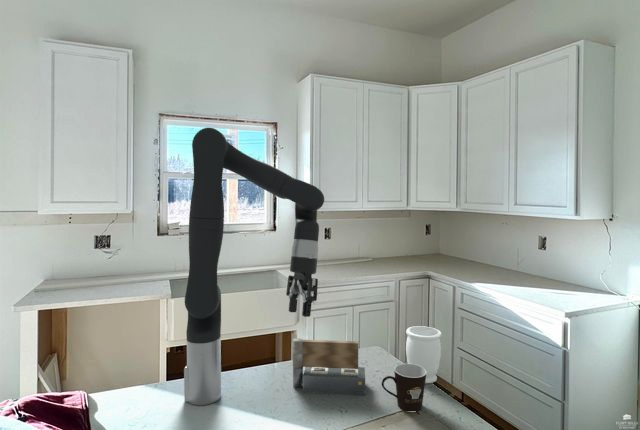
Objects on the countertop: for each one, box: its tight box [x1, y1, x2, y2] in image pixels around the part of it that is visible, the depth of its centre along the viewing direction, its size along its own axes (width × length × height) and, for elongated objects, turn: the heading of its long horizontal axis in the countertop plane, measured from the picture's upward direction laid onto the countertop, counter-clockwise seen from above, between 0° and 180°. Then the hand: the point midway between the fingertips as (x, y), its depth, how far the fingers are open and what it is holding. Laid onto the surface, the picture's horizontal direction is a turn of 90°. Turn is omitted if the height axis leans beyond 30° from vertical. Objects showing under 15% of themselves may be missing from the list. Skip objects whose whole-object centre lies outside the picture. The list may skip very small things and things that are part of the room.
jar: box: [405, 325, 442, 384], centre depth 123 cm, size 11×10×15 cm
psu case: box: [302, 366, 366, 396], centre depth 116 cm, size 18×7×5 cm, turn 85°
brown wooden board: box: [292, 338, 359, 369], centre depth 116 cm, size 20×3×8 cm, turn 85°
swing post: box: [292, 366, 304, 389], centre depth 118 cm, size 3×3×6 cm
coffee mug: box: [381, 362, 427, 413], centre depth 107 cm, size 12×9×10 cm
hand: (299, 314), depth 110 cm, fingers open, 8 cm apart
